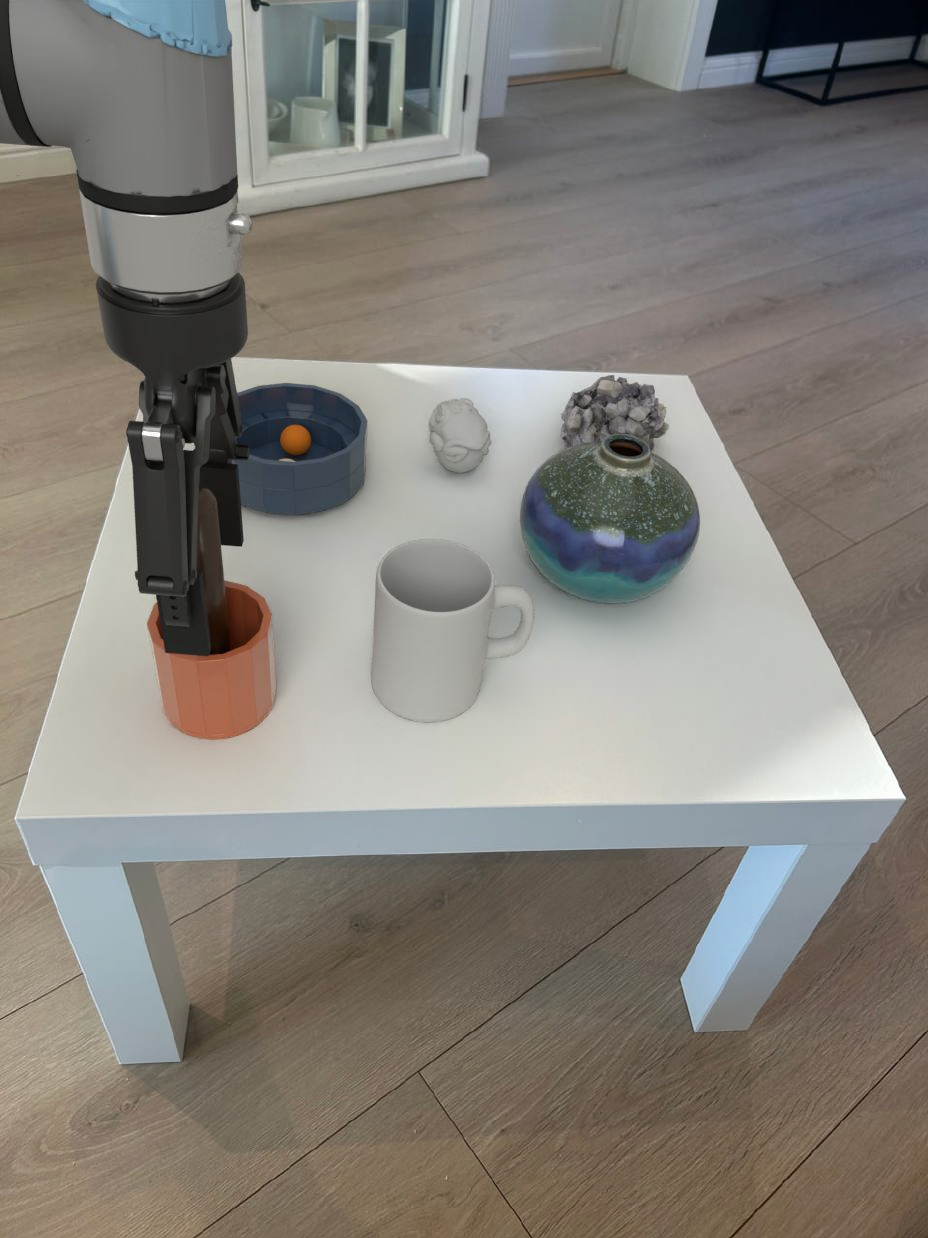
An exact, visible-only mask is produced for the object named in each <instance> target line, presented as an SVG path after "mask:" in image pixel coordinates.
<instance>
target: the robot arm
mask: <svg viewBox="0 0 928 1238" xmlns="http://www.w3.org/2000/svg"><path fill="white" fill-rule="evenodd" d="M226 4H227V3H226V0H0V144H1V145H2V144H3V145H15V146H16V145H17V146H30V147H43V148H44V147H45V148H50V147H64V148H67V149H70V151H71V154H72V156H73V159H74V163H75V165H76V176H77V183H78V192H79V199H80V204H81V211H82V217H83V223H84V229H85V236H86V241H87V242H86V243H87V248H88V254H89V255H88V256H89V261H90V266H91V267H92V270H93V271H94V273H95V274H96V275H98V277H97V279H96V282H95V289H96V295H97V300H98V307H99V313H100V318H101V319H100V320H101V324H102V325H101V326H102V330H103V336H104V341H105V342H106V345H107V346H108V348H109V349H110V351H111V352H112V353H113V354H114V355H115V356H117V357H118V358H119V359H121V360H123V361H124V362H127V363H129V364H130V365H132V366H133V367H135V368H136V369H138V370H139V371H140V372H141V373H142V374H143V376H144V380H141V381H140V383H139V386H138V387H139V388H138V390H139V391H138V409H139V410H140V412H141V414H142V421H139V420H129V421H128V423H127V427H126V429H125V434H126V439H127V445H128V450H129V456H130V462H131V466H132V467H131V468H132V469H131V470H132V487H133V488H132V489H133V506H134V507H133V509H134V527H135V544H136V546H135V548H136V564H137V566H136V567H137V568H136V571H135V570H134V578H135V580H136V581H137V587H138V592H139V593H140V594H141V595H143V594H144V595H155V599H156V603H157V605H158V611H159V617H160V623H161V630H162V636H163V642H164V648H165V653H172V654H185V655H198V656H209V654H210V650H211V642H210V633H209V625H208V616H207V608H206V599H205V591H204V582H203V574H202V569H196V557H197V529H198V502H199V485H201V486H204V487H206V488H208V489H209V490H211V492H212V493H213V494H214V496H215V498H216V501H217V509H218V520H219V530H220V540H221V546H225V547H237V548H239V547H240V548H242V547H243V545H244V541H245V538H244V523H243V513H242V512H243V511H242V504H241V498H240V485H239V472H238V464H232V460H239V461H248V459H249V444H242V443H237V440H236V437H239V438H241V435H242V433H243V430H244V426H243V425H242V419H241V413H240V407H239V401H238V395H237V393H238V390H237V385H236V379H235V372H234V367H233V362H232V359H233V358H234V357H236V356H237V355H238V354H239V353H240V352H241V351H242V350H243V349H244V347H245V345H246V343H247V341H248V338H249V337H248V335H249V327H248V313H247V312H248V311H247V295H246V282H245V279H244V277H243V276H242V274H241V273H240V270H241V269H242V267H243V248H242V236H243V235H244V236H245V235H248V234H250V233H251V232H252V230H253V221H252V218H251V217H250V215H249V214H246V213H238V204H239V201H240V200H239V176H238V159H237V158H238V157H237V139H236V138H237V137H236V116H235V95H234V93H235V92H234V75H233V71H234V70H233V52H232V51H233V49H232V48H233V34H232V32H231V31H230V29H229V24H228V15H227V14H228V13H227V5H226ZM186 444H193V446H194V449H185V445H186Z"/></svg>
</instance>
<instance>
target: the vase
mask: <svg viewBox="0 0 928 1238" xmlns="http://www.w3.org/2000/svg"><path fill="white" fill-rule="evenodd" d="M693 490H694V489H693V488H692V487H691V485H690V483H689V482H688V480H687V479H686V478H685V477H684V476H683V474H682V473H681V472H680V471H679V470H678V468H676V467H675V466H673V465H672V464H671V463H670V462H669V461H668V460H666V459H665V458H663V457H662V456H659V454H656V453H655V452H652V450H651V451H650V447H649V446H648V444H647V443H646V442H644V441H643V440H642V439H640V438H638V437H635V436H632V435H628V434H613V435H610V436H608V437H606V438H605V439H604V440H603V441H596V442H589V443H583V444H579V445H575V446H572V447H567V448H564V449H562V450H560V451H558V452H556V453H554V454H552V455H551V456H550V457H548V458H547V459H546V460H545V461H544V462H543V463H542V464H540V465H539V467H537V469H536V470H535V471H534V473H533V474H532V476H530V479H529V480H528V481H527V484H526V485H525V489H524V490H523V494H522V496H521V497H522V498H521V501H520V509H519V526H520V531H521V536H522V541H523V544H524V546H525V549H526V551H527V554H528V557H529V558H530V560H531V561H532V562H533V564H534V565H535V567H536V568H537V570H538V571H539V573H540V574H542V576H543V577H545V579H547V580H548V581H549V582H550V583H552V584H553V585H554V586H556V587H557V588H559V589H560V590H562V591H563V592H565V593H568V594H569V595H571V596H574V597H577V598H580V599H583V600H586V601H591V602H597V603H602V604H603V603H604V604H623V603H624V604H625V603H629V602H630V603H631V602H634V601H635V602H636V601H638V600H641V599H642V600H643V599H644V598H647V597H649V596H652V595H654V594H655V593H657V592H659V591H660V590H662V589H664V588H666V586H668V585H669V584H670V583H672V581H674V580H675V579H676V578H677V577H678V576H679V575H680V574H681V572H683V570H684V569H685V567H686V566H687V564H688V563H689V561H690V560H691V557H692V555H693V554H694V551H695V549H696V546H697V544H698V541H699V540H698V539H699V536H700V529H701V516H700V515H701V514H700V508H699V503H698V500H697V498H696V495H695V492H694V491H693Z"/></svg>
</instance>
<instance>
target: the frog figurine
mask: <svg viewBox="0 0 928 1238" xmlns="http://www.w3.org/2000/svg"><path fill="white" fill-rule="evenodd" d="M431 412H432V413H431V414H430V417H429V419H428V431H429V432H430V433H429V436H428V440H429V442H430V444H431V446H432V450H433V452H434V454H435V457H436V458H437V461H438V462H439V463H440V464H441V466H443V467H444V469H446V470H447V471H450V472H453V473H460V474H461V473H467V472H470V471H472V470H474V469H476V468H477V467H478V466H479V465H480V464H481V462H482V461H483V459H484V457H485V456H486V455H488V454H489V451H490V450H489V447H490V446H491V445H492V439H491V433H490V431H489V430H488V424H487V422H486V420H485V418H484V417H483V416H482V415H481V414H480V413H479V410H478V408H476V407H475V405H474V401H472V400H471V399H469V398H467V397H465V398H464V397H462V398H459V399H457V398H451V399H449V400H444V401H441V402H439V403H437V404H436V406H435V407H434V408H433V410H432V411H431Z"/></svg>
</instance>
